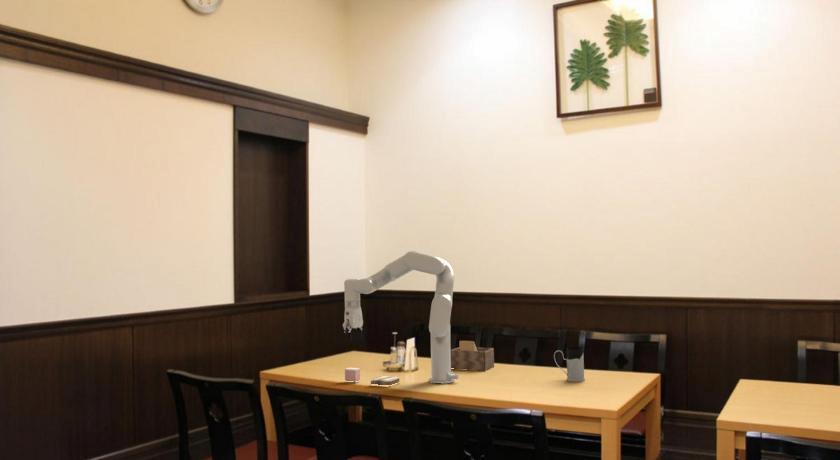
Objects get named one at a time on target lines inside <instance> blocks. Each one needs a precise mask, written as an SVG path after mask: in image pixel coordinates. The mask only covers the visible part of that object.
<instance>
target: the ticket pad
mask: <svg viewBox="0 0 840 460" xmlns="http://www.w3.org/2000/svg"><path fill="white" fill-rule="evenodd" d="M400 381H401V380H400V378H399V376H398V377H397V376H387V375H385V376H384V375H382V376H380V375H379V376H378V377H375V378H372V380H370V385H371V384H378V385H392V384H395V383H398V382H400Z"/></svg>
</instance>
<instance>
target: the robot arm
mask: <svg viewBox="0 0 840 460" xmlns="http://www.w3.org/2000/svg"><path fill="white" fill-rule="evenodd" d="M412 271H417V272H419V273H425V274H429V275H433V276H435V277H436V281H435V282H436V283H435V292H434V296H433V297H434V298H432V302H431V306H430V314H429V323H428V329H429V330H428V331H429V333H430V364H431V365H430V367H431V369H430V370H431V371H430V372H431V374H430V375H431V377H429V378H428V379H427V380H428V381H430V382H433V383H432V384H435V383H441V384H440V385H442V384H443V385H445V384H451V383H452V384H453V383H454V382H455V380H459V379H460V376H459V374H454V371H452V369H451V350H452V348H451V313H452V308H453V295H454V282H455V275H454V271H453V268H452V266H451V265H450V263H449V262H447V261H446V260H445V259H444V258H442V257H440V256H433V255H429V254H425V253H420V252H417V251H415V250H414V251H413V250H412V251H408V252H406V253H405V254H404V255H402V256H400V257H398V258H397V259H395V260H393V261H392V262H389V263H388V264H386V265H385V266H384V267H383V268H382V269H380V270H379V271H377V272H376V273H374V274H372V275H370V276H369V277H366V278H362V279H361V278H360V279H357V278H352V279H351V278H350V279H349V278H348V279H345V280H344V282H343V286H344V289H343V290H344V322H343V323H342V327H343V332H344V339H345V342H351V341H352V332H351V331H352V329H356V330H355V339H363V327H364V320H363V319H364V318H363V312H362V307H361V294H364V295H370V294H372V293H374V292H376V291H377V290H379V289H381V288H383V287H384V286H386V285H389V283H392V282H395V281H397V280H398V279H400V278H401V277H403V276H405V275H407V274H409V273H411V272H412ZM428 381H427V382H428ZM430 382H429V383H430Z"/></svg>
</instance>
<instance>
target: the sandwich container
mask: <svg viewBox="0 0 840 460" xmlns="http://www.w3.org/2000/svg"><path fill="white" fill-rule="evenodd" d="M458 343H459V348H460V351H478V350H477V348H478V347H477V346H476V344H475V341H474V340H473V341H472V340H459V342H458ZM472 370H474V368H473V369H471V370H470V371H472Z"/></svg>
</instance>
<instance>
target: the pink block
mask: <svg viewBox="0 0 840 460" xmlns="http://www.w3.org/2000/svg"><path fill="white" fill-rule="evenodd" d="M360 371H361V368H359V367H346V368H344V381H345V380H346V381H354V382H356V381H359V380H360V381H361V372H360Z"/></svg>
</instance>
